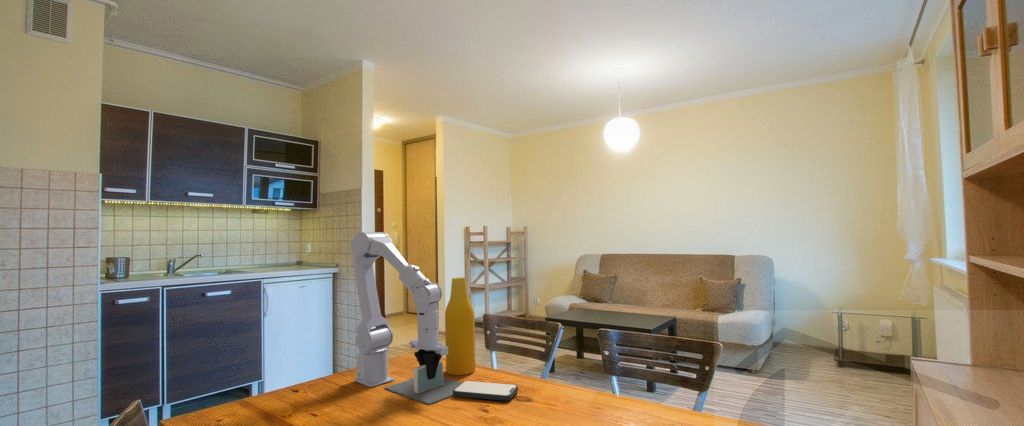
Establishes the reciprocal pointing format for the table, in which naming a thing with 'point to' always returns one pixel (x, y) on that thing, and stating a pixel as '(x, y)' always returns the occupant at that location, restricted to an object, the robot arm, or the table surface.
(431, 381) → the card deck
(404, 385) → the mat
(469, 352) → the beer bottle
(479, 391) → the phone case
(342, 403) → the table surface
